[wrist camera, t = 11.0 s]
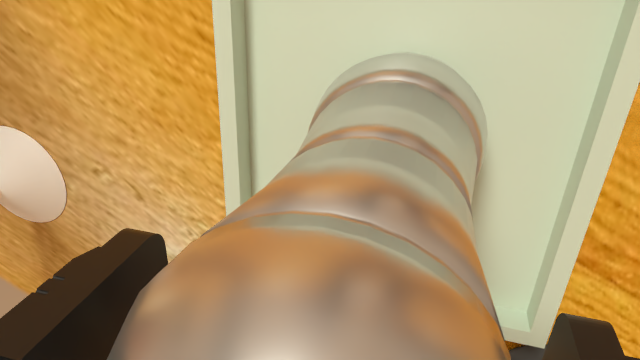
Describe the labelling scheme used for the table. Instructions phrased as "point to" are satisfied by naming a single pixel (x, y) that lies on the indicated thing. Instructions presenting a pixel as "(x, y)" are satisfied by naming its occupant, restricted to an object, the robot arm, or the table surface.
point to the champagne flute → (29, 178)
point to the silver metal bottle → (343, 239)
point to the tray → (492, 90)
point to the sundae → (527, 353)
